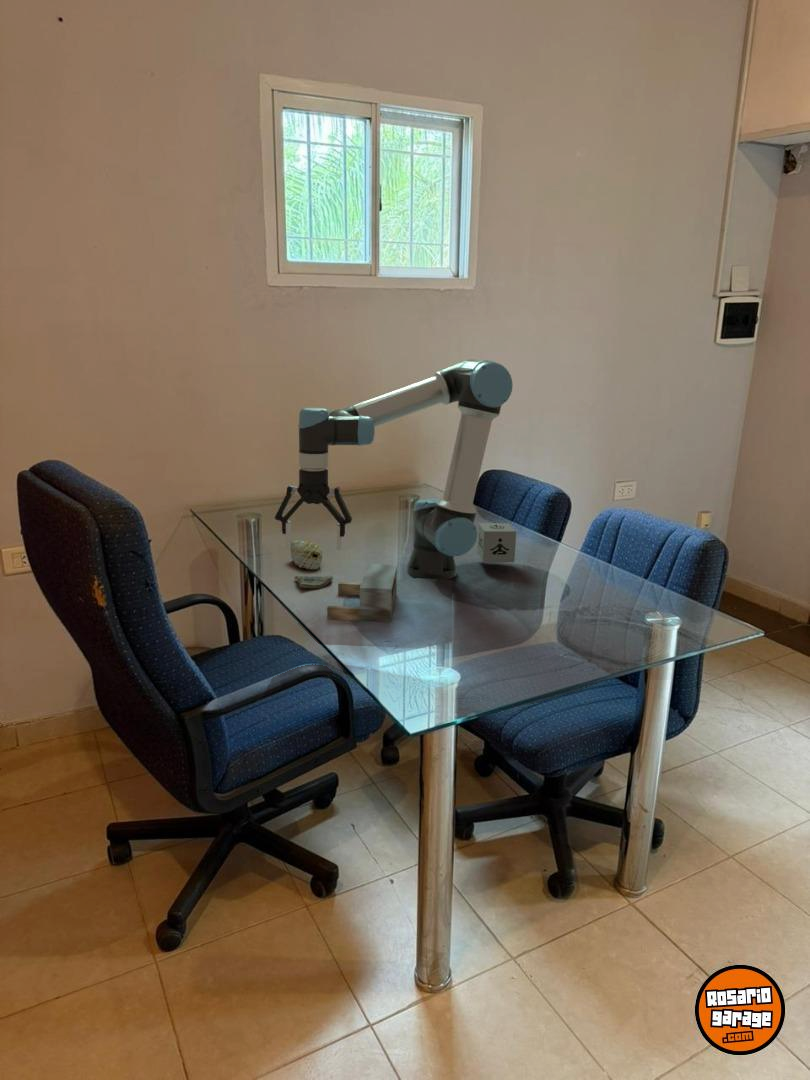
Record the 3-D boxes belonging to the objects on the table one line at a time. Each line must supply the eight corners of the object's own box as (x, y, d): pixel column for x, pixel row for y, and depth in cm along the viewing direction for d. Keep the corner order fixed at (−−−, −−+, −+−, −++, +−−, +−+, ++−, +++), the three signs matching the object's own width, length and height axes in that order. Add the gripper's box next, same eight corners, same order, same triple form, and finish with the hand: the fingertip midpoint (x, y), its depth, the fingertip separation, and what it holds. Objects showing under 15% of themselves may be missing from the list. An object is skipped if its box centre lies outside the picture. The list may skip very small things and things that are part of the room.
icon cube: (477, 553, 243) (478, 523, 240) (507, 553, 244) (509, 523, 241) (482, 562, 233) (484, 531, 231) (514, 562, 234) (516, 531, 231)
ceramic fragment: (295, 584, 202) (294, 568, 212) (295, 594, 204) (294, 578, 213) (335, 585, 204) (332, 569, 214) (334, 595, 206) (332, 579, 215)
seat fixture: (396, 595, 202) (397, 565, 200) (390, 621, 184) (391, 589, 181) (338, 592, 203) (338, 562, 201) (327, 619, 184) (327, 586, 182)
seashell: (320, 569, 218) (309, 536, 217) (291, 578, 221) (279, 546, 220) (331, 562, 228) (320, 531, 227) (303, 571, 230) (292, 540, 230)
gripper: (362, 468, 198) (361, 545, 203) (269, 464, 199) (270, 540, 204) (359, 473, 190) (358, 553, 196) (262, 468, 192) (264, 548, 197)
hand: (313, 547), depth 200 cm, fingers open, 13 cm apart
